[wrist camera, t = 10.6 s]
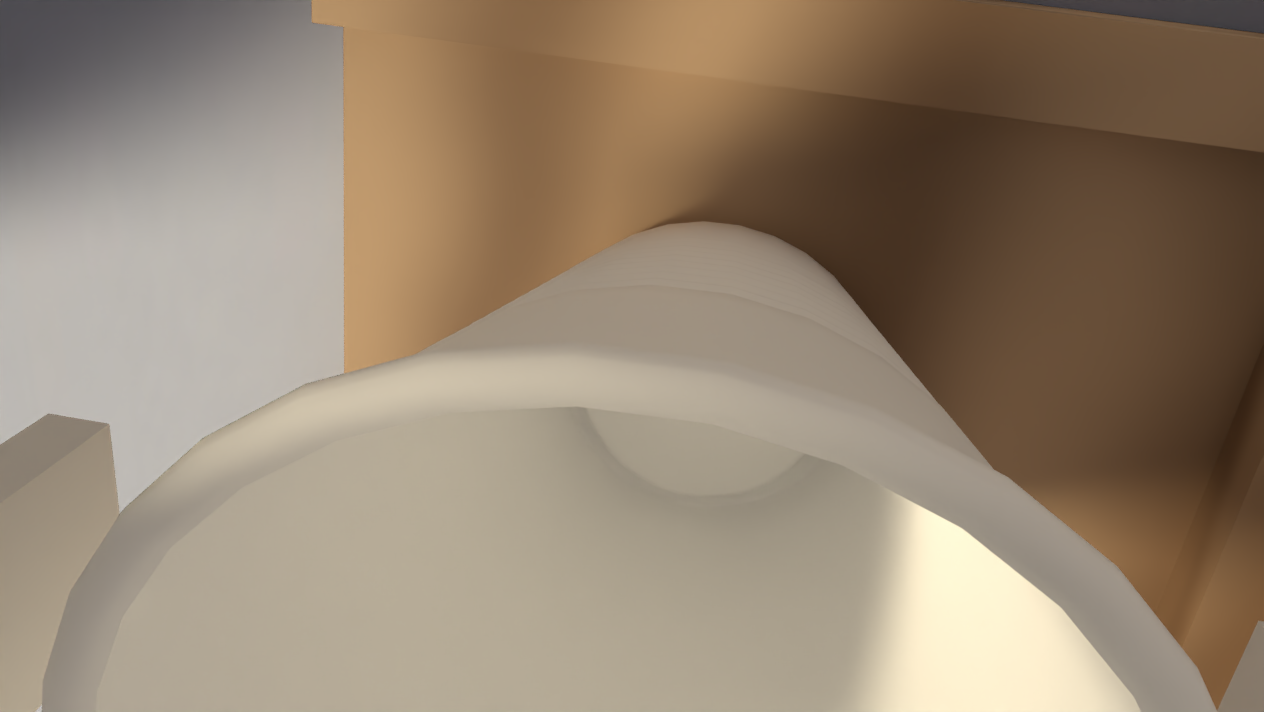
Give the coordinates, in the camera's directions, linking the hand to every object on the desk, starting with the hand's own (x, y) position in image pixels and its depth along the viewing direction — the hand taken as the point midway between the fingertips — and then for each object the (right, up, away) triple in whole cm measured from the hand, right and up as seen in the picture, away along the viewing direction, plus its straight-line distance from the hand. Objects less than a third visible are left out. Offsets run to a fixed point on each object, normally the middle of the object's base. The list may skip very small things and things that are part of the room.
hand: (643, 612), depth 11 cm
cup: (+1, +3, +7) cm, 7 cm away
